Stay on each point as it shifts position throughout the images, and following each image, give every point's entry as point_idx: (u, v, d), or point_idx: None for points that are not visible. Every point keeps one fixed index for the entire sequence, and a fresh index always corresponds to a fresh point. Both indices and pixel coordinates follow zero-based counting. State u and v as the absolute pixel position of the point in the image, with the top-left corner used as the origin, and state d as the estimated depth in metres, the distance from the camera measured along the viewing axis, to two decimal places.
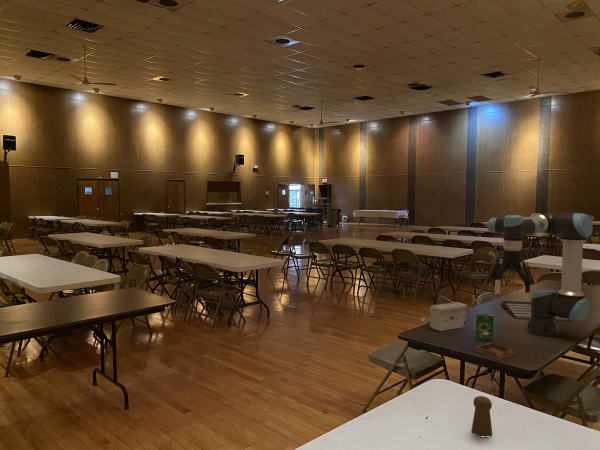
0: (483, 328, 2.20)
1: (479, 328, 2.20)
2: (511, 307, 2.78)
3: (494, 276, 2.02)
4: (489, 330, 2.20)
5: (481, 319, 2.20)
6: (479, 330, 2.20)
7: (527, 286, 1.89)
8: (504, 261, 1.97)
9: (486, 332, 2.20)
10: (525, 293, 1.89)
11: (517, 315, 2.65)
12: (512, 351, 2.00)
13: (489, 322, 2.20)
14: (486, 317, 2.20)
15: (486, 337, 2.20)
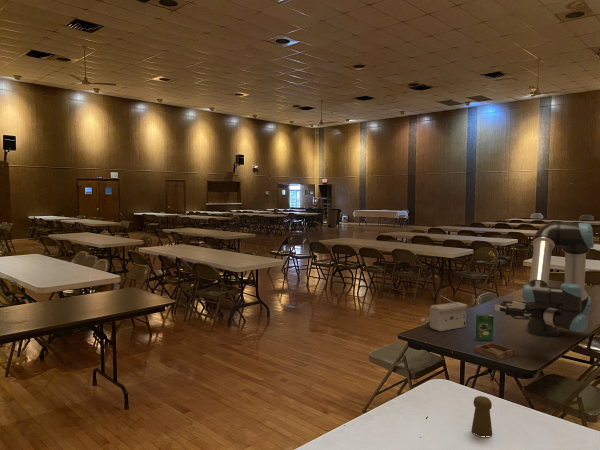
0: (483, 328, 2.20)
1: (479, 328, 2.20)
2: (511, 307, 2.78)
3: None
4: (489, 330, 2.20)
5: (481, 319, 2.20)
6: (479, 330, 2.20)
7: None
8: None
9: (486, 332, 2.20)
10: None
11: None
12: (512, 351, 2.00)
13: (489, 322, 2.20)
14: (486, 317, 2.20)
15: (486, 337, 2.20)
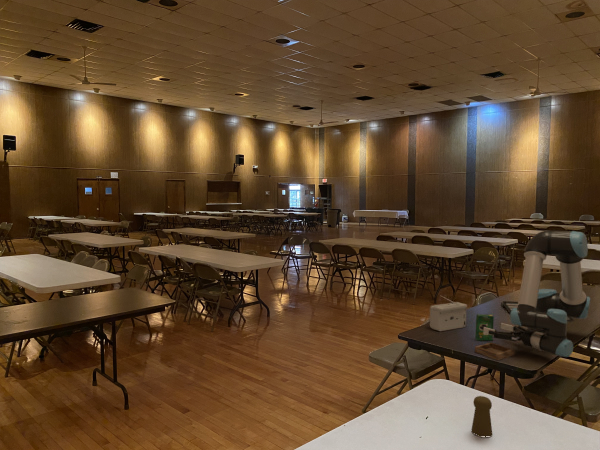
0: (483, 328, 2.20)
1: (479, 328, 2.20)
2: (511, 307, 2.78)
3: None
4: None
5: (481, 319, 2.20)
6: (479, 330, 2.20)
7: None
8: None
9: None
10: None
11: None
12: (512, 351, 2.00)
13: (489, 322, 2.20)
14: (486, 317, 2.20)
15: (486, 337, 2.20)
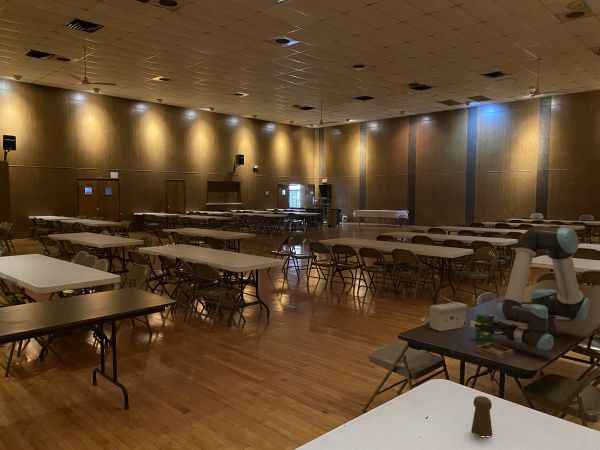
0: None
1: None
2: None
3: None
4: None
5: (481, 319, 2.20)
6: None
7: None
8: None
9: (486, 332, 2.20)
10: None
11: None
12: (512, 351, 2.00)
13: (489, 322, 2.20)
14: (486, 317, 2.20)
15: (486, 337, 2.20)
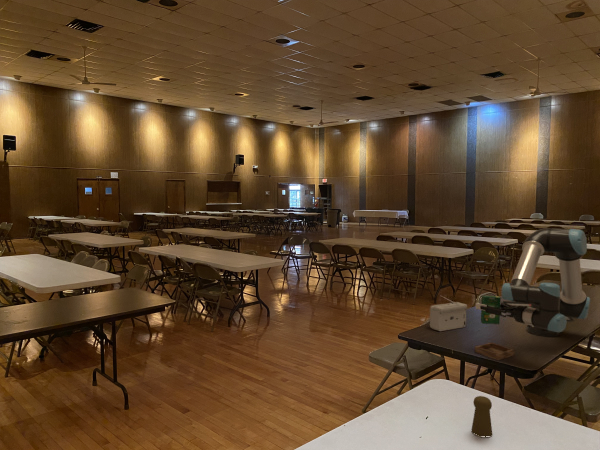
0: None
1: None
2: None
3: None
4: None
5: (487, 300, 2.04)
6: None
7: None
8: None
9: (492, 315, 2.05)
10: None
11: None
12: (512, 351, 2.00)
13: (495, 304, 2.04)
14: (492, 298, 2.04)
15: (492, 320, 2.05)
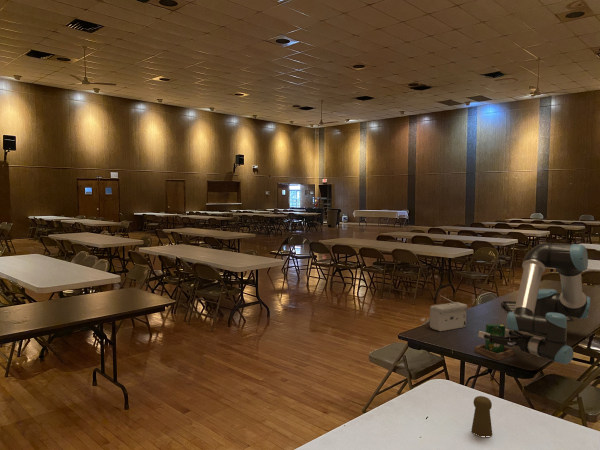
0: None
1: None
2: (511, 307, 2.78)
3: None
4: None
5: (492, 329, 2.00)
6: None
7: None
8: None
9: (497, 344, 2.01)
10: None
11: None
12: (512, 351, 2.00)
13: (500, 333, 2.01)
14: (497, 327, 2.00)
15: (497, 349, 2.01)
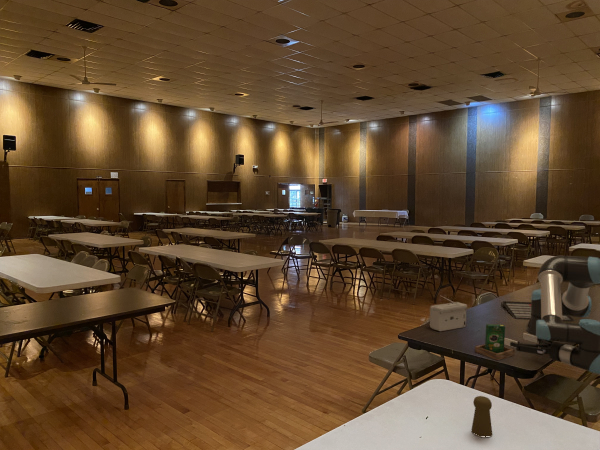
0: (493, 339, 2.01)
1: (489, 339, 2.01)
2: (511, 307, 2.78)
3: None
4: (500, 342, 2.01)
5: (492, 329, 2.00)
6: (489, 341, 2.01)
7: None
8: None
9: (497, 344, 2.01)
10: None
11: (517, 315, 2.65)
12: (512, 351, 2.00)
13: (500, 333, 2.00)
14: (497, 327, 2.00)
15: (497, 349, 2.01)
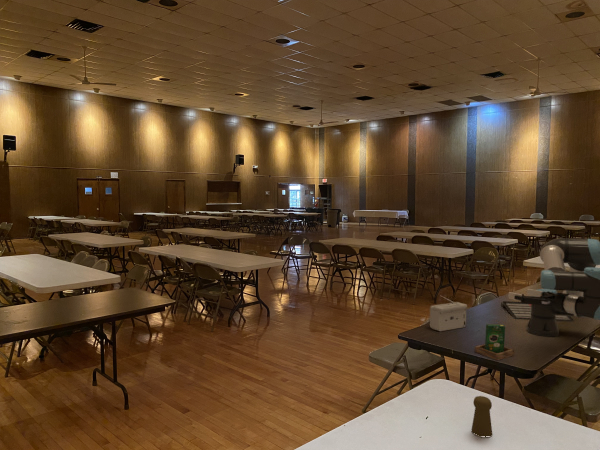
0: (493, 339, 2.01)
1: (489, 339, 2.01)
2: (511, 307, 2.78)
3: None
4: (500, 342, 2.01)
5: (492, 329, 2.00)
6: (489, 341, 2.01)
7: None
8: None
9: (497, 344, 2.01)
10: None
11: (517, 315, 2.65)
12: (512, 351, 2.00)
13: (500, 333, 2.01)
14: (497, 327, 2.00)
15: (497, 349, 2.01)
